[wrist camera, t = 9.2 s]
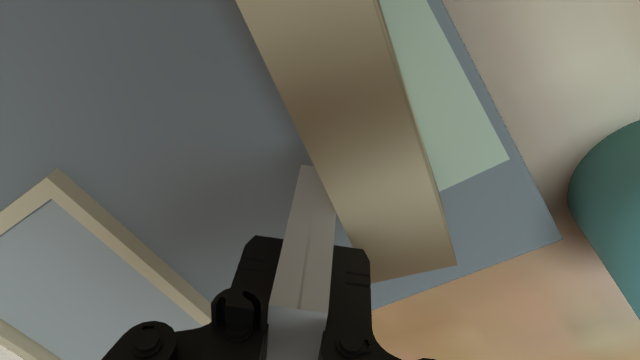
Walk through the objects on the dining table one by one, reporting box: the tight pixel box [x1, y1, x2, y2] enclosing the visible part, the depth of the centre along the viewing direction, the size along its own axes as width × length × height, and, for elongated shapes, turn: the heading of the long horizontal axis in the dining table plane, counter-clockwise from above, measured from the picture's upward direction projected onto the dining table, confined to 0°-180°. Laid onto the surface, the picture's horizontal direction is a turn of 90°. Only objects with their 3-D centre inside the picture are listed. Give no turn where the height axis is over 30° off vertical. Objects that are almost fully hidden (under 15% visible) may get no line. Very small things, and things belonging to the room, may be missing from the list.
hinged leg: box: [235, 0, 457, 284], centre depth 12 cm, size 14×3×6 cm, turn 22°
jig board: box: [0, 0, 563, 360], centre depth 20 cm, size 30×20×2 cm, turn 125°
